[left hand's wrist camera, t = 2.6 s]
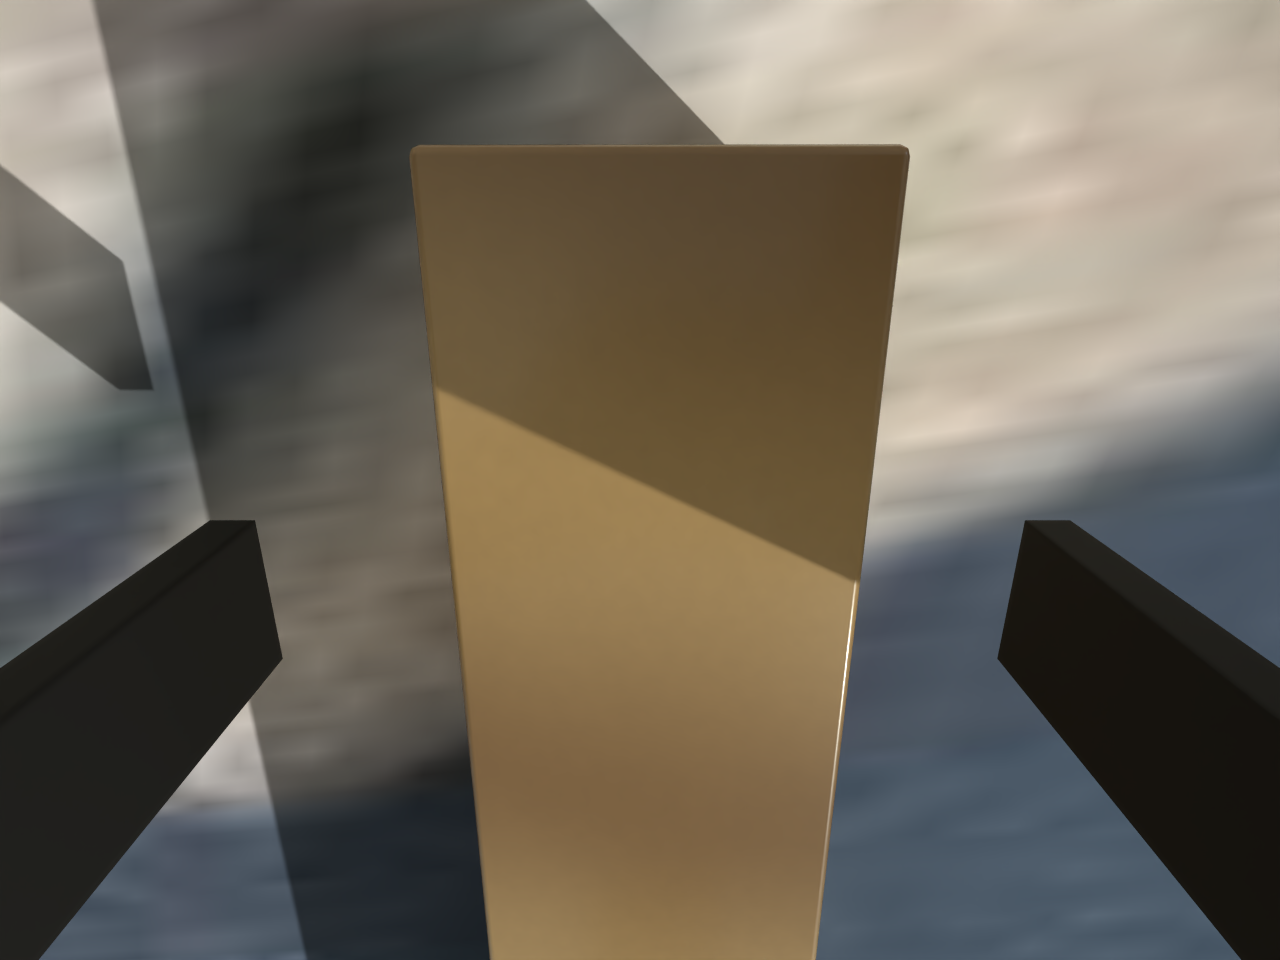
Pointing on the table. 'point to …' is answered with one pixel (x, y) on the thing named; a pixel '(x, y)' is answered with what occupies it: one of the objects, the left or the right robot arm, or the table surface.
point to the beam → (656, 523)
